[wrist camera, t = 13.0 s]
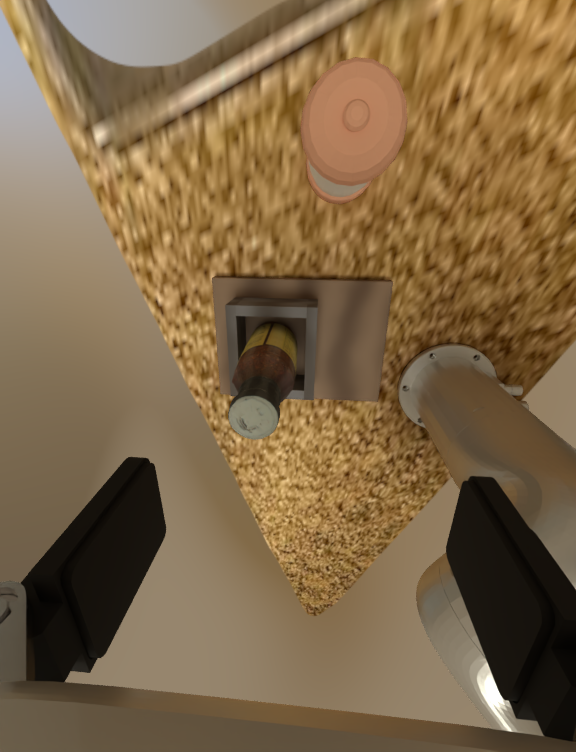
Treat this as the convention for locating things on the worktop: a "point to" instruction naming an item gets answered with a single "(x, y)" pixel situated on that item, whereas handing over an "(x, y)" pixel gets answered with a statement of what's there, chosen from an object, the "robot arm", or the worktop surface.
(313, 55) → the worktop surface
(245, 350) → the sauce bottle
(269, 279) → the bottle caddy
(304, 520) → the worktop surface
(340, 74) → the pepper shaker
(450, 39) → the worktop surface
